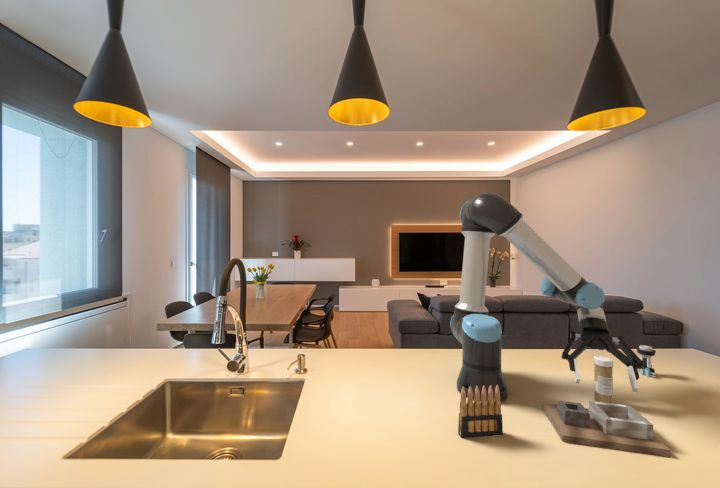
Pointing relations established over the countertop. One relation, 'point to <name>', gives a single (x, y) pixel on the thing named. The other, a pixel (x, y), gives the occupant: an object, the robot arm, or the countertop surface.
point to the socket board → (604, 426)
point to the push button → (646, 359)
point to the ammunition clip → (480, 413)
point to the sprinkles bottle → (603, 379)
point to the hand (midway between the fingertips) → (605, 385)
